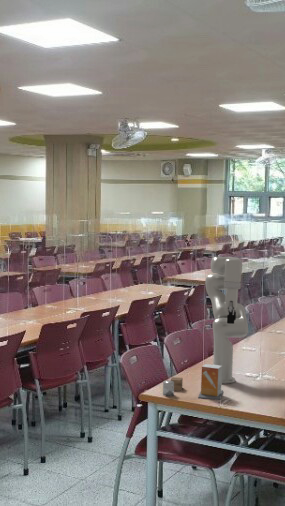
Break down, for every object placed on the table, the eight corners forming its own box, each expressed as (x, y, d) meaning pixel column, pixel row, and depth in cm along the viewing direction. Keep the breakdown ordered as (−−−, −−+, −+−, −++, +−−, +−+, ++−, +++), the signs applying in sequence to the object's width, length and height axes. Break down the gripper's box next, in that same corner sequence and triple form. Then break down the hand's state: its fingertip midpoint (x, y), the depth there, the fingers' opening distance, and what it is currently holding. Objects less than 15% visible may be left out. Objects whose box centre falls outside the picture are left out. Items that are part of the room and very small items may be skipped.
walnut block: (172, 387, 311) (172, 376, 311) (182, 387, 310) (182, 377, 310) (170, 390, 306) (170, 379, 306) (180, 390, 305) (181, 380, 305)
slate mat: (201, 390, 307) (201, 388, 307) (223, 391, 305) (223, 390, 304) (198, 398, 293) (198, 396, 293) (220, 399, 291) (220, 398, 291)
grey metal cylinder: (163, 392, 301) (164, 380, 300) (174, 393, 300) (174, 380, 299) (162, 395, 296) (162, 382, 295) (172, 396, 295) (173, 383, 294)
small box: (200, 394, 297) (201, 366, 296) (204, 391, 303) (205, 363, 302) (217, 396, 294) (218, 368, 293) (221, 393, 300) (222, 365, 299)
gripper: (225, 283, 310) (224, 318, 311) (222, 286, 293) (221, 324, 294) (241, 283, 308) (240, 319, 310) (239, 287, 292) (238, 325, 293)
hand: (231, 321), depth 302 cm, fingers open, 9 cm apart
